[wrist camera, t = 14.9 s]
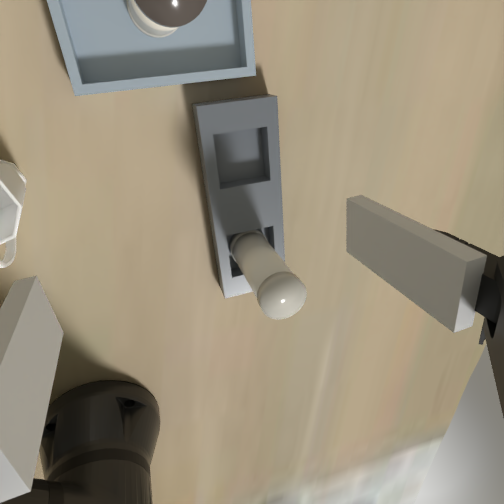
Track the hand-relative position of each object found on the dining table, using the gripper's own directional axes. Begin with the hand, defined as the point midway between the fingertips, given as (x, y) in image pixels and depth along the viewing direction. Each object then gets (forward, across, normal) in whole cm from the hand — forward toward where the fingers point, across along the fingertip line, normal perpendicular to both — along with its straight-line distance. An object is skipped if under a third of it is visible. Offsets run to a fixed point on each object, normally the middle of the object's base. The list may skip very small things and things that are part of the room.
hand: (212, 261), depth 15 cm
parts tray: (+25, +3, +12) cm, 28 cm away
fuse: (+25, +8, -12) cm, 29 cm away
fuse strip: (+25, +8, -7) cm, 27 cm away
